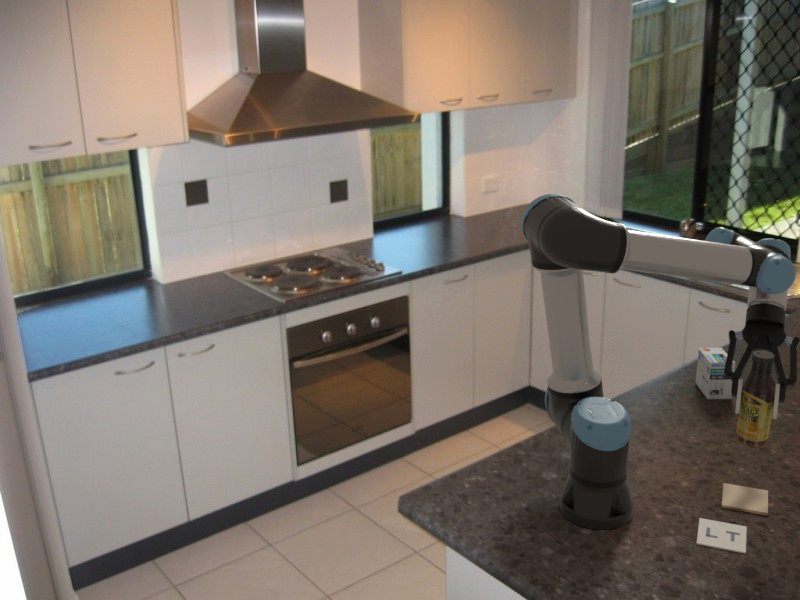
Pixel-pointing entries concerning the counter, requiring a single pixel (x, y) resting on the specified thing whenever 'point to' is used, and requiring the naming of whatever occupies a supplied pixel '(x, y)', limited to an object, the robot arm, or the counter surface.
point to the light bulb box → (713, 373)
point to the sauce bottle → (757, 401)
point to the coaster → (745, 499)
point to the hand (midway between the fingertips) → (755, 414)
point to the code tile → (722, 535)
